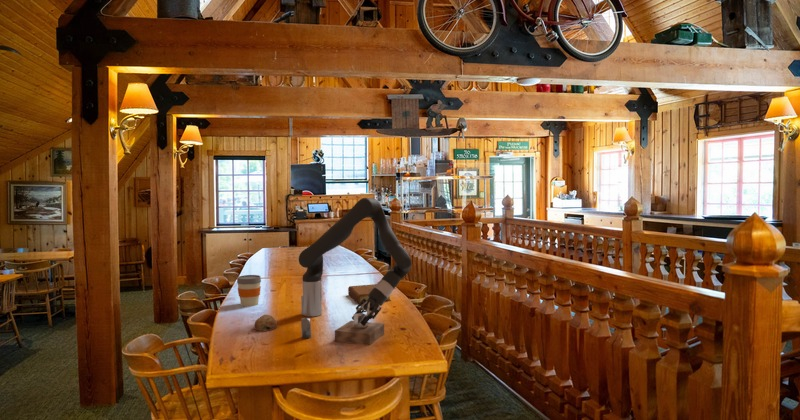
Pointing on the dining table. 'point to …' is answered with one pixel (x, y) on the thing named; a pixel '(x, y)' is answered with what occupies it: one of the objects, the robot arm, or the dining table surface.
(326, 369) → the dining table surface
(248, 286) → the reusable coffee cup
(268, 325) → the bread roll
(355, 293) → the diary
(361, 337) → the socket block
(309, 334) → the round bit
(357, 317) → the square bit
